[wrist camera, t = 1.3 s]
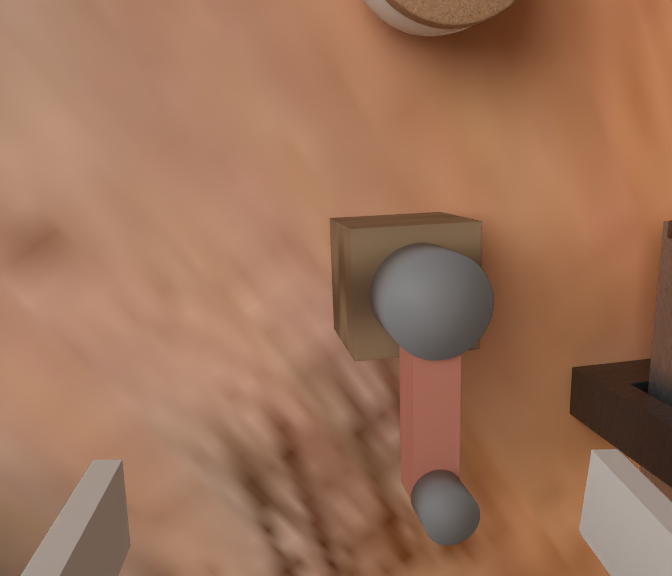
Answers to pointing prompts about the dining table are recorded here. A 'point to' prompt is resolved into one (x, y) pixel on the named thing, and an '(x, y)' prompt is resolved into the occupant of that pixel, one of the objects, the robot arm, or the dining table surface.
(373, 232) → the tan square block
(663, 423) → the dark boxy piece
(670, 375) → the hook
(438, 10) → the lidded jar
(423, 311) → the ball ended rod
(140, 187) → the dining table surface
